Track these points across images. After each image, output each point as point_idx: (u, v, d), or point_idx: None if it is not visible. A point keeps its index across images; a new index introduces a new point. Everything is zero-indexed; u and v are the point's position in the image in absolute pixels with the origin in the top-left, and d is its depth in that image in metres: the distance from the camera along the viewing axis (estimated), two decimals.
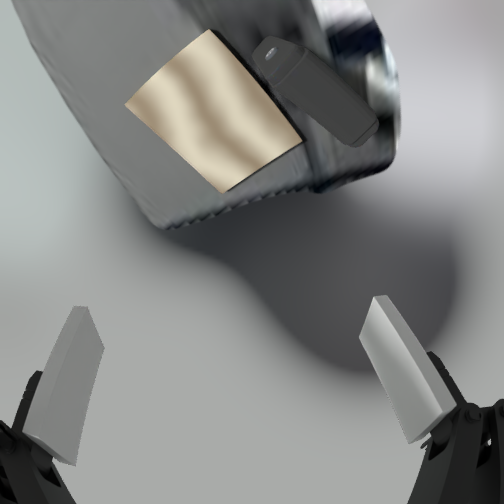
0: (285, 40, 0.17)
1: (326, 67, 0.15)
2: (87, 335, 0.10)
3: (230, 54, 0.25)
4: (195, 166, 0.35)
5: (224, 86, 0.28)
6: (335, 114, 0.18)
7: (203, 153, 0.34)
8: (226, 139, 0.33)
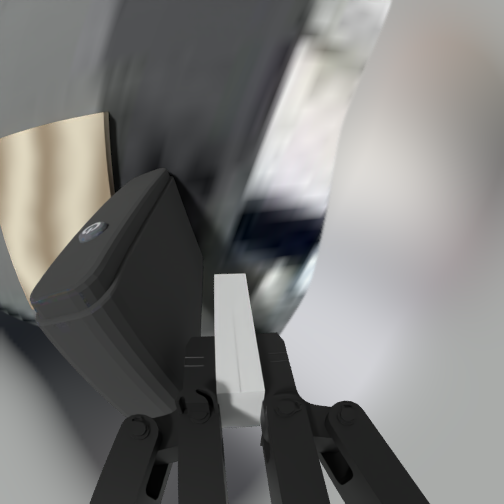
0: (129, 219, 0.11)
1: (131, 340, 0.08)
2: None
3: (104, 164, 0.18)
4: (15, 265, 0.21)
5: (76, 201, 0.19)
6: (119, 399, 0.09)
7: (26, 259, 0.21)
8: (52, 262, 0.21)
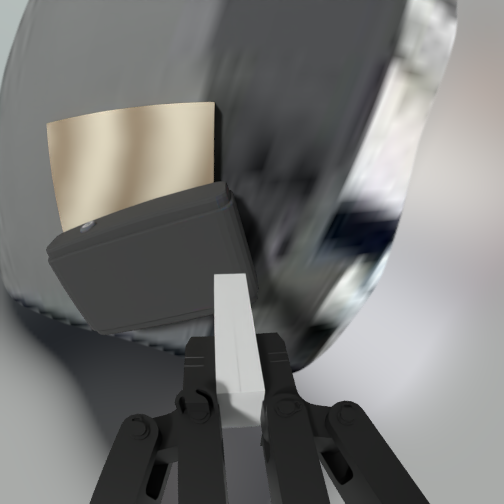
0: (86, 237, 0.17)
1: (59, 279, 0.18)
2: None
3: (211, 157, 0.19)
4: None
5: None
6: None
7: None
8: None
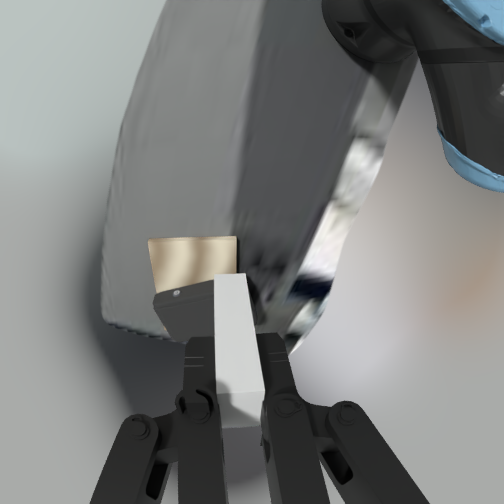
0: (179, 300, 0.41)
1: (160, 317, 0.43)
2: None
3: (235, 262, 0.43)
4: None
5: None
6: None
7: None
8: None
